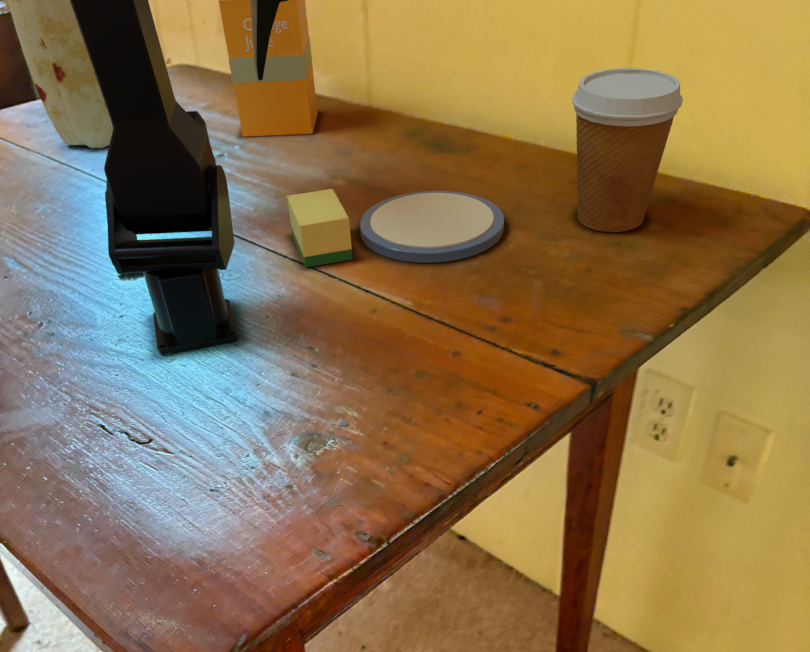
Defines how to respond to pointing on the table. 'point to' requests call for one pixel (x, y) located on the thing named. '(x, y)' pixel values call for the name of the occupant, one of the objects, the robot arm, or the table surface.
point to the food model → (62, 71)
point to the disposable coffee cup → (621, 143)
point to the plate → (432, 226)
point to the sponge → (320, 227)
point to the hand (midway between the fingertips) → (210, 85)
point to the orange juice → (272, 70)
